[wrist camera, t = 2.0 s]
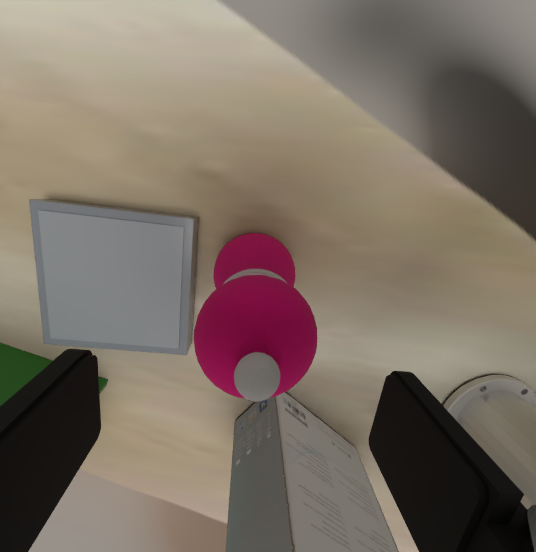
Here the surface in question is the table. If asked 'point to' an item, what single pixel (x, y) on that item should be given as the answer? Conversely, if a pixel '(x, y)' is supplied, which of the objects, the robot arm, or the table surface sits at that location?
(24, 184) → the table surface
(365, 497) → the hard drive box
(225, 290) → the pepper mill
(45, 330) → the slate stand
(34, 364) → the hardback book
